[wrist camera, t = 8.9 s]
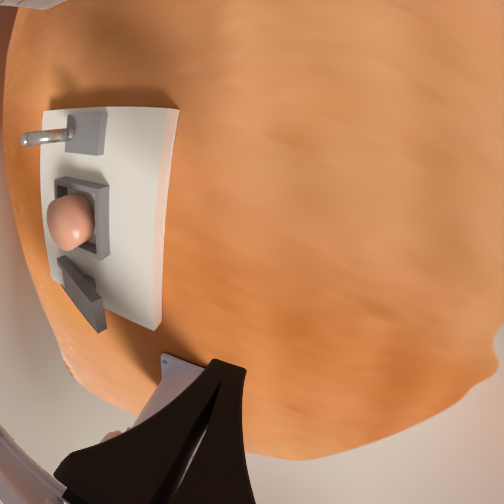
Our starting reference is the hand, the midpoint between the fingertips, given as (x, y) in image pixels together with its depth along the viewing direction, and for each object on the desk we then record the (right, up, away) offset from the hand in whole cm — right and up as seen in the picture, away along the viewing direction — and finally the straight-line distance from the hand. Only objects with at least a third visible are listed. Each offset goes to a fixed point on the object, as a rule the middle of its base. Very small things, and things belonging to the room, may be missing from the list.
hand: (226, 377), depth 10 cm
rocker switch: (-14, +2, +10) cm, 17 cm away
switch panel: (-12, +8, +10) cm, 18 cm away
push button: (-12, +8, +8) cm, 17 cm away
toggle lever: (-11, +13, +5) cm, 18 cm away
